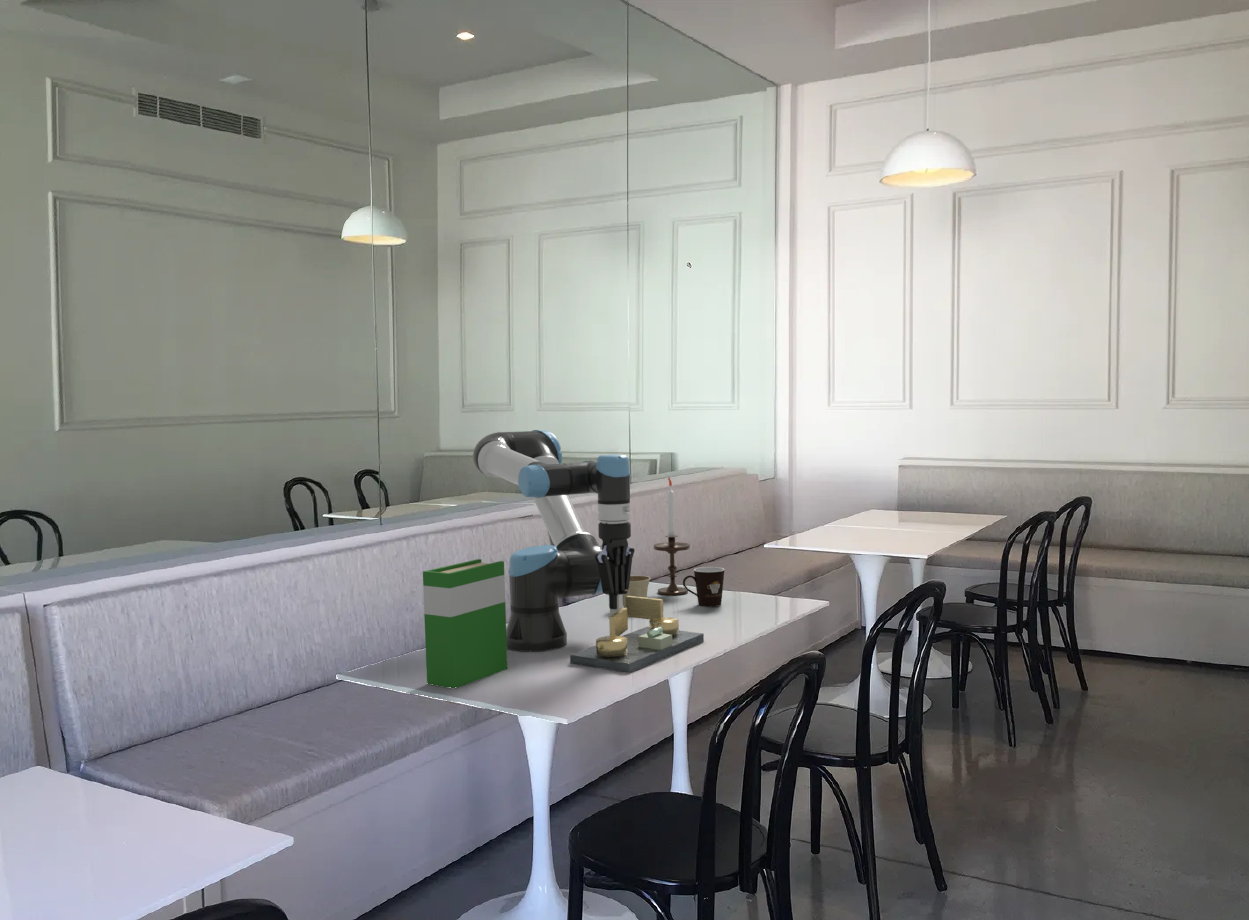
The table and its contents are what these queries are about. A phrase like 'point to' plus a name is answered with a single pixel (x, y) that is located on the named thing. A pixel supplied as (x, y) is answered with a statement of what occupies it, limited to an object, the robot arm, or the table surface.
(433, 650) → the hardback book
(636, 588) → the flower pot
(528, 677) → the table surface
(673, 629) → the far knob
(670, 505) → the candlestick
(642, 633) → the level plate
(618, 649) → the near knob
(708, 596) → the coffee mug
